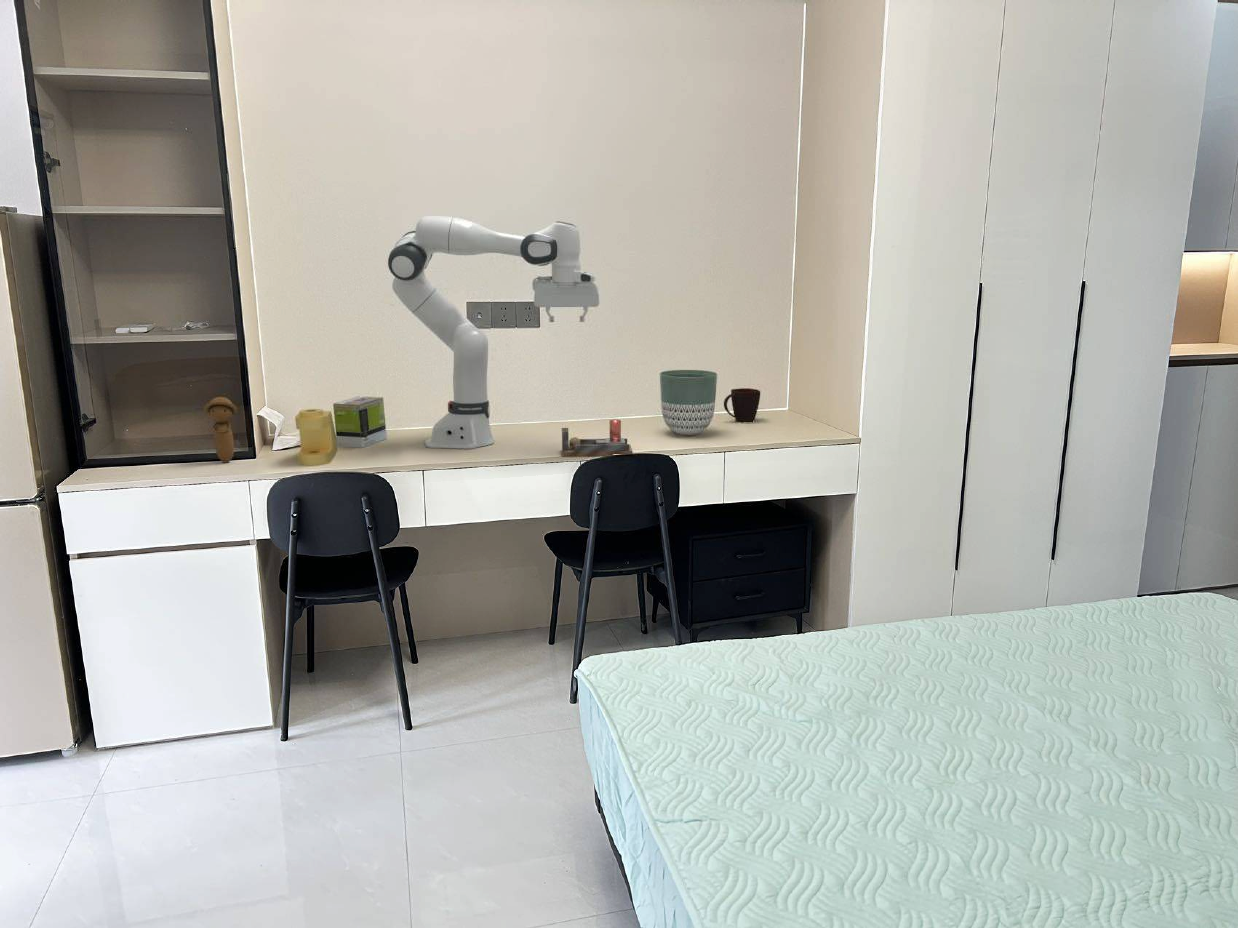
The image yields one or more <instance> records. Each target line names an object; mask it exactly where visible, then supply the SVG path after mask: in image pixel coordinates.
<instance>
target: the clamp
mask: <svg viewBox="0 0 1238 928" xmlns="http://www.w3.org/2000/svg"><path fill="white" fill-rule="evenodd" d="M294 419H295V427H296V428H295V429H296V430H299V431H298V432H299V439H300V440H299V441H300V450H299V451H298V453H297V454H298V464H299V465H300V466H304V467H317V466H318V467H319V466H325V465H329V464H331V463H332V461H333V460H334V458H335V456H336V454H337V453H338V446H337V439H336V429H335V423H334V420H333V419H334V418H333V414H332V411H331V410H324V409H321V408H309V409H307V408H306V409H301V410H299V411H298V413H297V414H296V415H295V418H294Z"/></svg>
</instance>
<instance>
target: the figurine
mask: <svg viewBox="0 0 1238 928" xmlns="http://www.w3.org/2000/svg"><path fill="white" fill-rule="evenodd" d="M203 408H204V412H205V413H206V414H208V415H209V416H210V418H211V419H212V420H213V421H214V422H215V423H214V425H213V426H212V429H213V442H214V443H213V444H214V449H215V454H216V455H217V457H218V459H219V460H220V461H221V462H223V463H229V462H230V461H231V460H232V458H233V456H234V453H235V442H234V441H235V440H234V435H233V434H234V433H233V430H232V429H231V424H230V422H229V420H230V419H231V418H232V416H234V415H236V413H237V412H238V408H237V406H236V405H235V404H233V402H232V401H231V400H230V399H229V398H227V397H223V396H218V397H215V398H213V399H211V400H210V401H209V402H207V403H206V404H205V405H204V407H203Z"/></svg>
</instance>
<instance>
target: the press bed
mask: <svg viewBox="0 0 1238 928" xmlns="http://www.w3.org/2000/svg"><path fill="white" fill-rule="evenodd" d="M569 438H570V437H569V427H562V428H561V454H562V458H563V457H565V458H566V457H569V458H571V457H572V458H574V457H575V458H576V457H607V456H606V455H613V454H633V453H634V452H633V448H632V446H631V444H630V443H628V438H624V437H623V438H624V440H625V444H603V445H596V440H605V438H578V439H579V440H580V445H575V446H570V445H569V441H570V439H569Z"/></svg>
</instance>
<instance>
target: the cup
mask: <svg viewBox="0 0 1238 928" xmlns="http://www.w3.org/2000/svg"><path fill="white" fill-rule="evenodd" d="M730 399H731V405H732V411H733V414H732V413H731V411H730V410H729V407H728V402H729V400H730ZM760 401H761V390H760V389H756V388H755V389H754V388H749V387H748V388H747V387H746V388H744V387H743V388H732V389H731V390H730V394H728V395H727V396H726V397H725V398H724V400H723V408H724V410H725V411H726V412H727V414H728V415H729V416H731V418H734V419H735V422H737V421H738V422H737V423H739V422H752V423H754V422H753V421H755V420H756V416H757V413H758V410H759V406H760V405H759V404H760Z"/></svg>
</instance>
